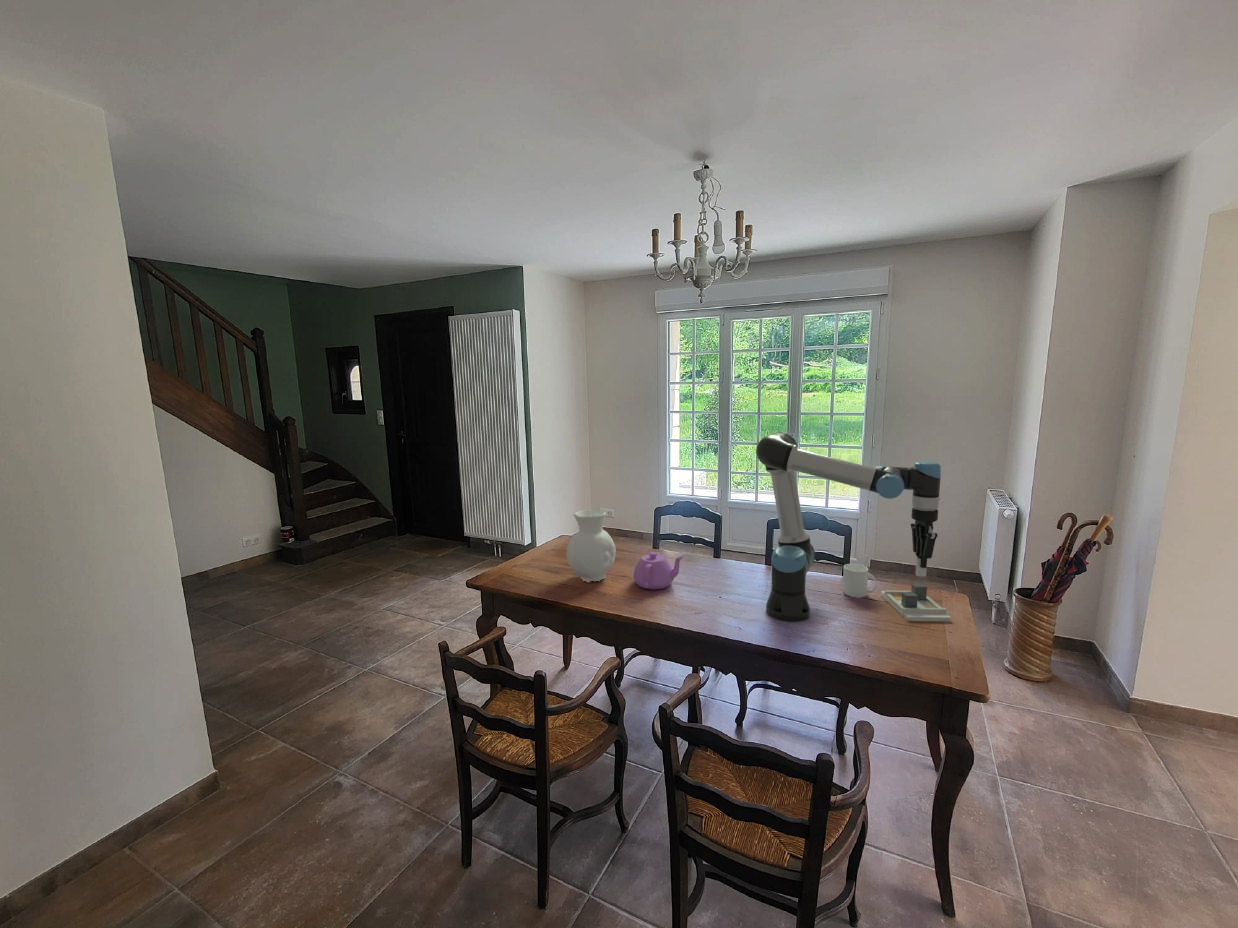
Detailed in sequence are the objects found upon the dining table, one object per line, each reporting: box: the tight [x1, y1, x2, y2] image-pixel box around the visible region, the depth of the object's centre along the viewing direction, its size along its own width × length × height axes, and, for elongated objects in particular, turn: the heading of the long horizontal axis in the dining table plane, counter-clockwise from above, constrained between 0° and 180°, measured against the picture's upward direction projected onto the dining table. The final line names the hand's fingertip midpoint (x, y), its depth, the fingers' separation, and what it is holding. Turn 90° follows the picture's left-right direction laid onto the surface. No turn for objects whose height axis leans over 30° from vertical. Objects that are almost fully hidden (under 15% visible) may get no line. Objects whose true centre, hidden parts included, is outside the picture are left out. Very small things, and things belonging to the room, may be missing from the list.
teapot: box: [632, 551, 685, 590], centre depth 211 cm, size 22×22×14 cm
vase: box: [566, 509, 617, 582], centre depth 218 cm, size 19×21×30 cm
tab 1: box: [901, 592, 918, 608], centre depth 179 cm, size 4×3×5 cm
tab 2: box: [910, 583, 928, 600], centre depth 186 cm, size 4×3×5 cm
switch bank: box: [880, 589, 952, 623], centre depth 183 cm, size 14×22×3 cm, turn 175°
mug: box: [842, 563, 878, 599], centre depth 195 cm, size 9×12×11 cm
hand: (920, 575), depth 171 cm, fingers closed
